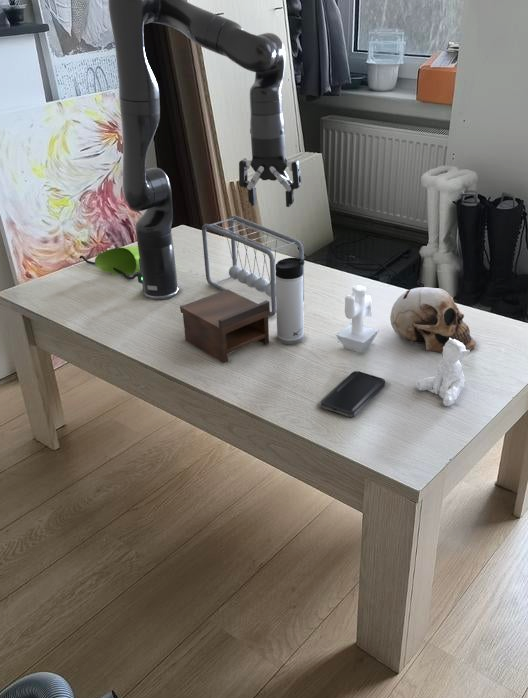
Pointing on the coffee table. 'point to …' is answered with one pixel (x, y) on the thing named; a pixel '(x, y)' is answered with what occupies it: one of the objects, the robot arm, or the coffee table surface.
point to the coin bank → (429, 319)
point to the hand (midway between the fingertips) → (271, 205)
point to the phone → (353, 393)
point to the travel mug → (289, 300)
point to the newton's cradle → (243, 274)
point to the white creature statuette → (447, 373)
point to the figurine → (357, 321)
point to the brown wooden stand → (225, 323)
